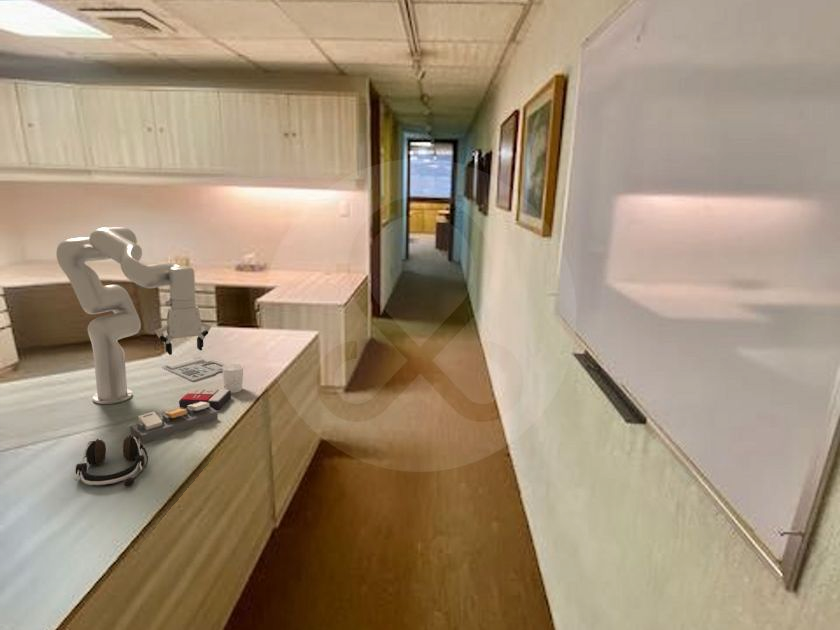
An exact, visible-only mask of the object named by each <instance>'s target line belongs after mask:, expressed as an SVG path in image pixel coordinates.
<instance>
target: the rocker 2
mask: <svg viewBox="0 0 840 630" xmlns="http://www.w3.org/2000/svg"><path fill="white" fill-rule="evenodd" d="M187 407H189V408H191V409H192V410H194V411H197V410H201V409H204V408H207V407H210V406H209V403H206V402H198V403H194V404H191V405H188V406H187Z"/></svg>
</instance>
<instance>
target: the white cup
mask: <svg viewBox="0 0 840 630" xmlns="http://www.w3.org/2000/svg"><path fill="white" fill-rule="evenodd" d="M221 368H222V370H223V372H222V382H223V390H230V391H231V394H235V393H239V392H241V391H242V390H243V381H244V380H243V379H244V365H243V364H241V363H236V362H235V363H227V364H225V365H224V366H223V367H222V366H221Z"/></svg>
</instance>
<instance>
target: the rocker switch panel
mask: <svg viewBox="0 0 840 630" xmlns="http://www.w3.org/2000/svg"><path fill="white" fill-rule="evenodd" d="M206 403H207V402H206ZM209 406H210V404H209ZM184 409H185V410H186V411H187V414H184V415H181V416H178V417H175V418H169V416H167V415H166V414H164V413H163V414H162V415H157V416H158V417H159V418H160V419H161V420H162V425H161V426H158V427H155V428H152V429H148V430H146V429H145V427H144V425H143V424H142V423H141V422H140V421H138V422H136V423H134V424H130V425H129V428H130V429H129V430H130V435H131V436H138V437H139V438H140V442H141V445H143V444H146V443H149V442H154V441H155V440H158V439H162V438H165V437H168V436H170V435H173V434H177V433H180V432H182V431H187V430H188V429H191V428H195V427H197V426H200V425H201V426H202V425H204V424H207V423H209V422H212V421H215V420H218V418H219V417H218V413H219V412H218V411H219V410H215V409H213V408H211V407H207V408H204V409H201V410H197V411H194V410H192V409H191V408H189V407H187V408H184Z"/></svg>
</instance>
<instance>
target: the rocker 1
mask: <svg viewBox="0 0 840 630" xmlns="http://www.w3.org/2000/svg"><path fill="white" fill-rule="evenodd" d="M158 416H159V415H158V414H157V413H156V412H155V411H151V412H148V413H144V414H142V415H138V422H141V423H142V424H143V425H144V427H145V429H146V430H148V429H152V428H155V427H158V426H161V425H162V420H161V419H160V418H159V417H158Z"/></svg>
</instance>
